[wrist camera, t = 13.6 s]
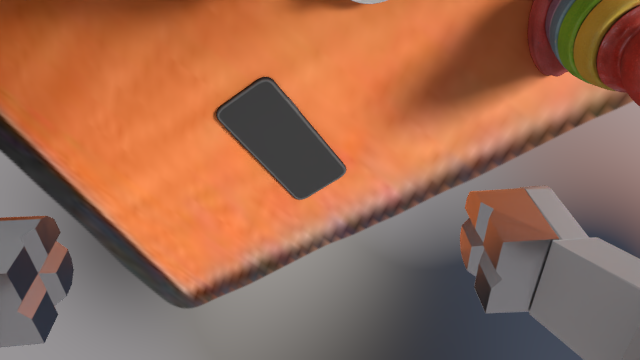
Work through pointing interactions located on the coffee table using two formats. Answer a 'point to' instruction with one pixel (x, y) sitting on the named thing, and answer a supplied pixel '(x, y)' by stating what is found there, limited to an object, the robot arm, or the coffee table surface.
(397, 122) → the coffee table surface
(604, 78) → the stacking bear
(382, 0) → the wall hook
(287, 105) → the smartphone
